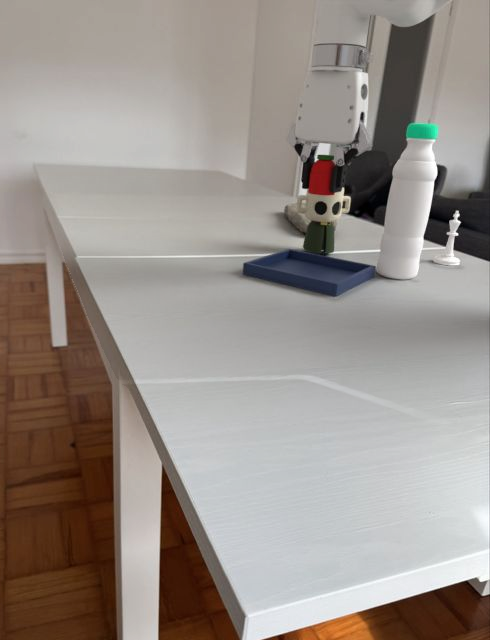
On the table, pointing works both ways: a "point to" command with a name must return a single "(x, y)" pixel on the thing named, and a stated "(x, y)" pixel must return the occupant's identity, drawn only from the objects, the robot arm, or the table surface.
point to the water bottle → (409, 204)
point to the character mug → (322, 219)
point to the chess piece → (450, 245)
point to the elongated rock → (299, 217)
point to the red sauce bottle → (321, 175)
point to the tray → (310, 271)
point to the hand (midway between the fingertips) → (321, 188)
